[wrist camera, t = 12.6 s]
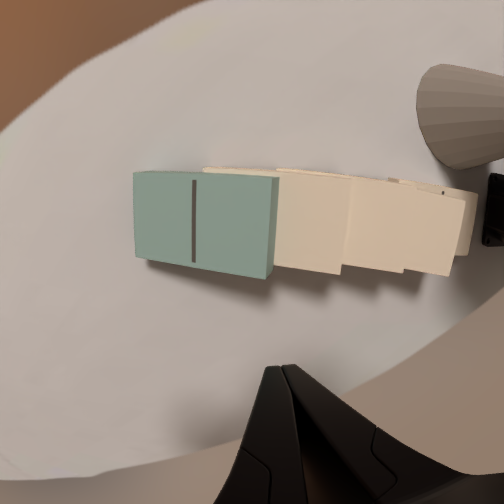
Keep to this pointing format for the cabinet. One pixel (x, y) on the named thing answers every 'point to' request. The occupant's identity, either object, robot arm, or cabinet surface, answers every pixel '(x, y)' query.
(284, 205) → the domino
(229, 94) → the cabinet surface
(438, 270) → the domino
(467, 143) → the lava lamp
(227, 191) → the domino
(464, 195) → the end domino
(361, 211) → the domino
